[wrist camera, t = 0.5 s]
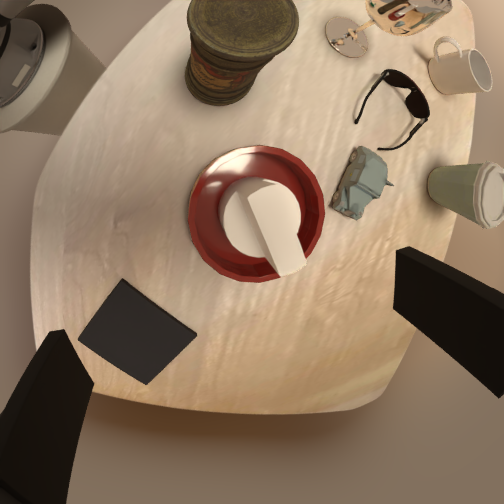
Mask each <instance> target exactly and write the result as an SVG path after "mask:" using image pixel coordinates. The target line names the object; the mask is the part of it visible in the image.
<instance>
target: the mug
mask: <svg viewBox="0 0 504 504" xmlns="http://www.w3.org/2000/svg"><path fill="white" fill-rule="evenodd" d="M443 42H449V43H452V44H453V45H454V46H455V47H456V48H457V49H458V52H454V53H449V54H445V55H441V56H438V52H437V47H438V45H439V44H440V43H443ZM434 56H435V57H433V58H432V59H431V60H430V62H429V66H428V69H429V75H430V78H431V80H432V82H433V84H434V86H435V87H436V88H437V90H439V91H440V92H441V93H443V94H445V95H452V94H463V93H476V92H488V91H490V90H491V88H492V75H491V71H490V68H489V65H488V64H487V61H486V60H485V58H484V57H483V55H482V54H481V53H480V52H479V51H478V50H476V49H468V50H463V51H462V49H461V47H460V45H459V43H458V42H457V41H456V40H455V39H453V38H451V37H441V38H439V39H438V40H437V41H436V42H435V45H434Z"/></svg>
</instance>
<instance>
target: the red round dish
mask: <svg viewBox="0 0 504 504" xmlns="http://www.w3.org/2000/svg"><path fill="white" fill-rule="evenodd" d="M245 177H260V178H264V179H268V180H271V181H275V182H279V183H280V184H282V185H284V186H285V187H287V188H288V189H289V190H290V191H291V192H292V193H293V194H294V196H295V198H296V199H297V201H298V203H299V207H300V212H301V223H300V226H299V230H298V233H297V237H298V239H299V242H300V245H301V247H302V250H303V253H304V256H305V258H307V257H308V256H309V255H310V254H311V253H312V251H313V249H314V247H315V245H316V243H317V241H318V240H319V238H320V236H321V232H322V227H323V222H324V217H325V209H324V198H323V193H322V191H321V188H320V186H319V184H318V181H317V179H316V177H315V175H314V174H313V173H312V172H311V170H310V169H309V168H308V167H307V166H306V165H305V164H304V163H303V161H302V160H301V159H299V158H297V157H295V156H294V155H292V154H290V153H288V152H287V151H285V150H283V149H279V148H274V147H269V146H263V145H257V146H250V147H244V148H238V149H234V150H231V151H229V152H227V153H225V154H223V155H221V156H219V157H217V158H215V159H214V160H213V161H212V162H211V163H210V164H209V165H208V166H207V167H206V168H205V169H204V170H203V171H202V172H201V173H200V175H199V176H198V178H197V180H196V182H195V184H194V187H193V189H192V191H191V194H190V200H189V209H188V224H189V229H190V233H191V238H192V242H193V244H194V245H195V247H196V249H197V250H198V252H199V254H200V255H201V257H202V259H203V260H204V261H205V262H206V263H207V264H208V265H210V266H211V267H212V268H213V269H214V270H216V271H217V272H218V273H219V274H221V275H224V276H226V277H229V278H232V279H234V280H237V281H240V282H256V283H259V282H260V283H261V282H265V281H269V280H273V279H277V278H280V276H279V274H278V273H277V272H276V270H275V269H274V268H273V267H272V265H271V264H270V263H269V261H268V260H267V259H266V258H265V257H260V258H258V257H252V256H248V255H246V254H244V253H242V252H240V251H239V250H237V249H236V248H235V247H234V246H233V245H232V244H231V242H230V241H229V239H228V238H227V236H226V234H225V232H224V230H223V228H222V226H221V223H220V220H219V215H218V207H219V202H220V199H221V197H222V195H223V193H224V191H225V190H226V189H227V188H228V187H229V186H230V185H231V184H232V183H234V182H235V181H237V180H239V179H242V178H245Z"/></svg>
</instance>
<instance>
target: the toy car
mask: <svg viewBox="0 0 504 504" xmlns="http://www.w3.org/2000/svg"><path fill="white" fill-rule="evenodd" d="M350 162H351V164H350V165H349V166H348V167H347V169H346V171H345V174H344V176H343V178H342V181H341V183H340V185H339V188H338V189H339V190H340V191H339V190H338V191H336V192H335V194H334V196H333V202H334V205H333V207H332V208H334V209H335V210H337V211H339V212H341V213H343V214H345V215H347V216H349V217H351V218H353V219H355V220H358V219H359V218H361V217H362V215H363V212H364V207H365V206H366V205H367V204H368V203H369V202H370V201H372V200H373V199H377V198H380V195H381V193H382V191H383V188H384V186H385V185H390V186H394V185H393V184H391V183H390V182H389V181H387V174H388V168H387V164H386V162H384V161H383V160H382V158H381V157H380V156H378V155H377V154H375V153H374V152H372V151H371V150H370V149H368V148H366V147H363V146H359V147H358V149H357V151H355V152H353V153H352V155H351V156H350Z"/></svg>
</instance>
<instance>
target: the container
mask: <svg viewBox="0 0 504 504" xmlns="http://www.w3.org/2000/svg"><path fill="white" fill-rule="evenodd" d="M187 24H188V27H189V30H190V39H191V54H190V57H189V59H188V62H187V66H186V69H185V80H186V84H187V86H188V88H189V90H190V92H191V93H192V94H193V95H194V96H195V97H196V98H197V99H199V100H201V101H202V102H205V103H207V104H211V105H228V104H232V103H234V102H237V101H238V100H240V99H241V98H243V97H244V96H245V95H246V94H247V93H248V92H249V90H250V89H251V87H252V85H253V83H254V81H255V78H256V77H257V74H258V73H259V72H260V70H261V69H262V68H263V67H264V66H265V65H266V64H267V63H269V62H270V61H271V60H272V59H273V58H274V57H275V55H277V54H279V53H281V52H282V51H284V50H285V49H286V48H287V47H288V46H289V45H290V44H291V43H292V42H293V40H294V38H295V36H296V34H297V31H298V26H299V16H298V12H297V9H296V6H295V4H294V3H293V1H292V0H192V1H191V3H190V5H189V8H188V11H187Z"/></svg>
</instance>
